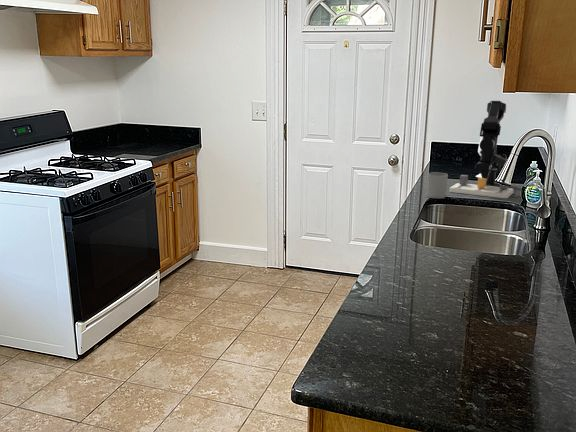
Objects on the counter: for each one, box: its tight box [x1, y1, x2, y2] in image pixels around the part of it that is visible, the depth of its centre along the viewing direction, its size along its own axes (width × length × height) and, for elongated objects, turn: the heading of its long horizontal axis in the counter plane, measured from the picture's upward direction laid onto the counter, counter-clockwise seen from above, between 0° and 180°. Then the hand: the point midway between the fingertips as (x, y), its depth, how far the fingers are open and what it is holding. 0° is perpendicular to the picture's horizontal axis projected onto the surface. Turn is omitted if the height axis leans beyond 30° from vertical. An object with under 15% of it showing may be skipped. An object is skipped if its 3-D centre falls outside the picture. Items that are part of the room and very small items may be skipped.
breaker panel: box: [448, 182, 514, 199], centre depth 251 cm, size 13×25×2 cm, turn 57°
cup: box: [426, 171, 449, 199], centre depth 242 cm, size 8×8×10 cm
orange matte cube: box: [476, 177, 487, 188], centre depth 250 cm, size 3×3×4 cm
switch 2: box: [499, 184, 509, 189], centre depth 247 cm, size 3×3×4 cm
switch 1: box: [458, 174, 469, 185], centre depth 257 cm, size 3×3×4 cm
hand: (485, 182), depth 255 cm, fingers closed
